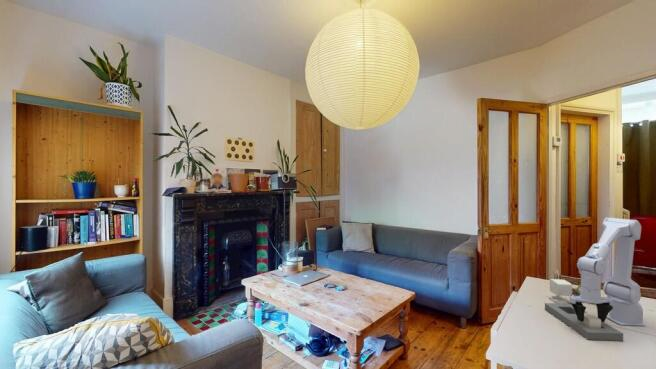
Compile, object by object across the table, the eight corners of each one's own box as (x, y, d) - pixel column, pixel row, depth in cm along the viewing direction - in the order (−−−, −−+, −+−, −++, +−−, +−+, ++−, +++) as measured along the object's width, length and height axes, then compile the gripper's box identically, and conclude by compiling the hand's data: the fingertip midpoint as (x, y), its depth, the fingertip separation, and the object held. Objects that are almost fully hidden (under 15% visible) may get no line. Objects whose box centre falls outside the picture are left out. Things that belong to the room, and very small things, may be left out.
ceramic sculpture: (576, 284, 133) (569, 276, 145) (576, 302, 133) (569, 292, 145) (606, 289, 127) (596, 280, 140) (606, 307, 127) (597, 297, 140)
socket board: (572, 310, 125) (572, 303, 125) (623, 341, 101) (623, 333, 101) (544, 309, 127) (544, 303, 126) (588, 340, 103) (588, 332, 103)
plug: (590, 326, 111) (590, 313, 111) (601, 333, 106) (600, 319, 106) (579, 326, 112) (579, 313, 111) (589, 333, 107) (589, 319, 106)
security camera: (572, 304, 131) (572, 284, 131) (555, 303, 132) (555, 283, 132) (563, 298, 137) (563, 279, 137) (547, 297, 138) (547, 278, 138)
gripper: (601, 283, 111) (601, 316, 112) (563, 283, 113) (563, 315, 113) (618, 290, 104) (618, 325, 105) (577, 290, 106) (577, 324, 106)
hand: (590, 320), depth 108 cm, fingers open, 7 cm apart
